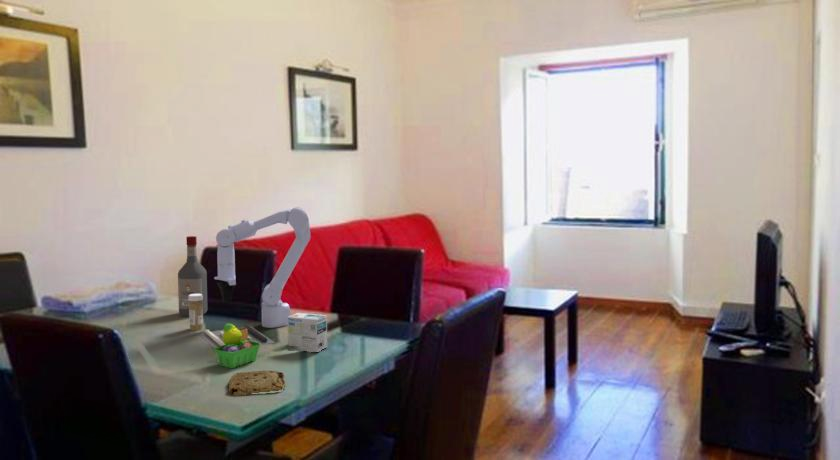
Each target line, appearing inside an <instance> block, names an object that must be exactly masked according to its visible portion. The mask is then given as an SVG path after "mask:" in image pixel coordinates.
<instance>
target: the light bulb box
mask: <svg viewBox="0 0 840 460" xmlns="http://www.w3.org/2000/svg"><path fill="white" fill-rule="evenodd" d="M327 317H328V315H326V314H315V313H303V312H296V313H293V314H292V315H291V314H290V316H288V325H287V346H290V347H289V348H287V350H288V351H295V350H297V351H296V352H303V351H307V352H306V353H311V352H319V351H320V352H322V351H323V350H322V349H324V348H326V347H327V348H328V318H327ZM327 348H326V349H327ZM321 350H322V351H321ZM324 350H325V349H324ZM308 351H309V352H308ZM320 352H319V353H320Z"/></svg>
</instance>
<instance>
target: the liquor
mask: <svg viewBox="0 0 840 460" xmlns="http://www.w3.org/2000/svg"><path fill="white" fill-rule="evenodd" d="M185 241H186V262H185V263H184V264H183V265H182V267H181V268H180V269H179V270H178V273H177V285H178V286H177V289H178V293H177V294H178V296H177V297H178V314H179V315H180V316H182V317H189V300H188V296H189V295H190V294H202V295H203V300H202V310H203V315H204V314H206V313H207V311H208V279H207V278H208V276H207V275H208V273H207V269H206V268H205V267H204V266H203V265H202V264H201V263H200V262H199V259H198V256H197V255H198V253H197V245H198V244H197V243H198V242H197V236H196V235H195V236H193V235H189V236H186V239H185Z"/></svg>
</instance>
